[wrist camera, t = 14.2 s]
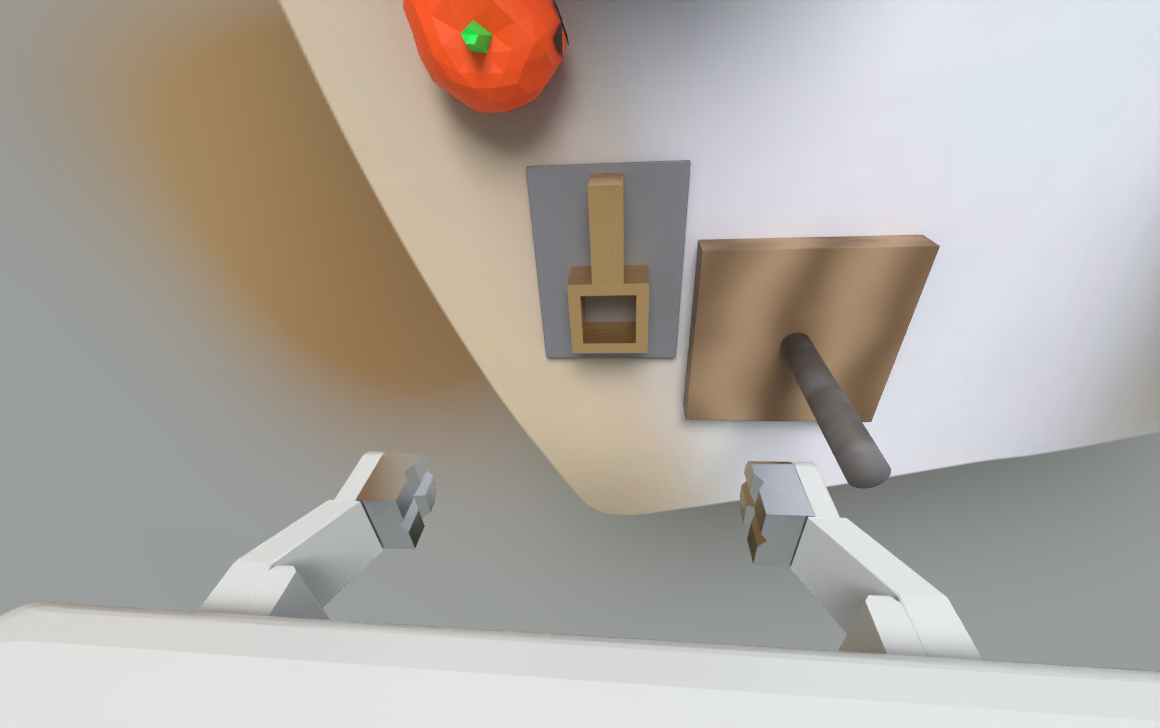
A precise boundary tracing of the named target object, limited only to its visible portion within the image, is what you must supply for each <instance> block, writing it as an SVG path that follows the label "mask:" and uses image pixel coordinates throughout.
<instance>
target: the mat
mask: <svg viewBox="0 0 1160 728" xmlns="http://www.w3.org/2000/svg"><path fill="white" fill-rule="evenodd" d="M690 163H691V162H690V160H680V161H654V162H628V163H601V164H575V165H549V166H527V168H526V175H527V184H528V193H529V202H530V211H531V220H532V230H533V239H534V248H535V257H536V266H537V275H538V285H539V294H540V303H541V312H542V321H543V330H544V340H545V349H546V358H676V348H677V334H678V321H679V308H680V295H681V282H682V268H683V255H684V242H685V229H686V215H687V202H688V189H689V176H690ZM601 173H623V193H624V265H648V274H649V316H648V353H572V341H571V328H570V316H569V303H568V290H567V283H568V279H569V275H570V271H571V267H572V266H591V250H590V229H589V207H588V182H589V179H590V175H591V174H601ZM585 309H586V322H635V295H615V296H585Z"/></svg>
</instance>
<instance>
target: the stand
mask: <svg viewBox="0 0 1160 728" xmlns="http://www.w3.org/2000/svg"><path fill="white" fill-rule="evenodd" d="M939 247H940V246H939V245H937V244H936V243H934V242H933V241H931V240H930V239H928V238H926V237H925V236H923V235H899V236H853V237H808V238H763V239H718V240H699V242H698V253H697V264H696V275H695V285H694V296H693V307H692V318H691V328H690V339H689V350H688V361H687V371H686V382H685V393H684V410H685V416H686V420H750V421H817V423H818V425H819V427H820V429H821V431H822V433H823V435H824V437H825V439H826V441H827V443H828V444H829V446H830V448H831V450H832V452H833V454H834V456H835V458H836V460H837V462H838V464H839V466H840V468H841V470H842V472H843V474H844V476H845V478H846V480H847V482H848V483H849V484H850V485H851V486H853V487H856V488H871V487H875V486H877V485H880V484H881V483H883V482H884V481H885V480H887V479H888V477H889V476H890V473H891V468H890V466H889V465H888V463H887V461H886V460H885V458H884V457H883V455H882V453H881V452H880V450H879V449H878V447H877V445H876V444H875V442H874V441H873V439H872V437H871V436H870V434H869V433H868V431H867V429H866V428H865V426H864V425H863V423H862V422H871V421H872V418H873V416H874V413H875V411H876V408H877V405H878V403H879V400H880V398H881V395H882V393H883V390H884V388H885V385H886V382H887V380H888V377H889V375H890V372H891V370H892V367H893V365H894V362H895V359H896V357H897V354H898V352H899V349H900V347H901V344H902V342H903V339H904V336H905V334H906V331H907V329H908V326H909V324H910V321H911V318H912V316H913V313H914V311H915V308H916V306H917V303H918V301H919V298H920V295H921V293H922V290H923V288H924V285H925V283H926V280H927V278H928V275H929V272H930V270H931V267H932V265H933V262H934V260H935V257H936V254H937V252H938V249H939Z"/></svg>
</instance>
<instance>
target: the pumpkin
mask: <svg viewBox="0 0 1160 728" xmlns="http://www.w3.org/2000/svg"><path fill="white" fill-rule="evenodd" d="M403 8H404V10H405V13H406V16H407V19H408V21H409V24H410V27H411V30H412V32H413V36H414V39H415V42H416V46H417V49H418V53H419V56H420V58H421V60H422V62H423V63H424V65H425V67H426V69H427V71H428V72H429V74H430V76H431V78H432V80H433V81H434V82H436V83H437V84H438V85H439V86H441V87H442V88H443V89H444V90H445V91H447V92H448V93H449V94H450V95H452V96H453V97H454V98H456V99H457V100H459V101H460V102H462V103H463V104H465V105H467V106H468V107H470V108H471V109H473V110H474V111H476V112H483V113H499V112H506V111H510V110H513V109H516V108H519V107H521V106H523V105H525V104H527V103H529V102H531V101H533V100H535V99H537V98H538V96H539V95H540V94H541V92H542V91H543V90H544V88H545V87H546V85H547V84H548V83H549V81H550V80H551V78H552V76H553V75H554V73H555V71H556V70H557V68H558V66H559V65H560V63H561V61H562V60H563V56H564V53H565V49H566V45H567V43H566V39H567V42H568V38H567V34H566V31H565V28H564V25H563V22H562V19H561V16H560V13H559V10H558V8H557V6H556V4H555V2H554V0H404V4H403ZM562 27H563V28H562ZM563 30H564V31H563ZM564 33H565V34H564ZM565 36H566V38H565ZM568 45H569V43H568Z"/></svg>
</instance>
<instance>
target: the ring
mask: <svg viewBox="0 0 1160 728" xmlns="http://www.w3.org/2000/svg"><path fill="white" fill-rule="evenodd" d="M588 207H589V229H590V250H591V266H572V267H571V271H570V275H569V279H568V283H567V290H568V303H569V316H570V328H571V341H572V353H648V316H649V274H648V265H624V193H623V173H601V174H591V175H590V179H589V182H588ZM615 295H635V322H586V309H585V296H615Z"/></svg>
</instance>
